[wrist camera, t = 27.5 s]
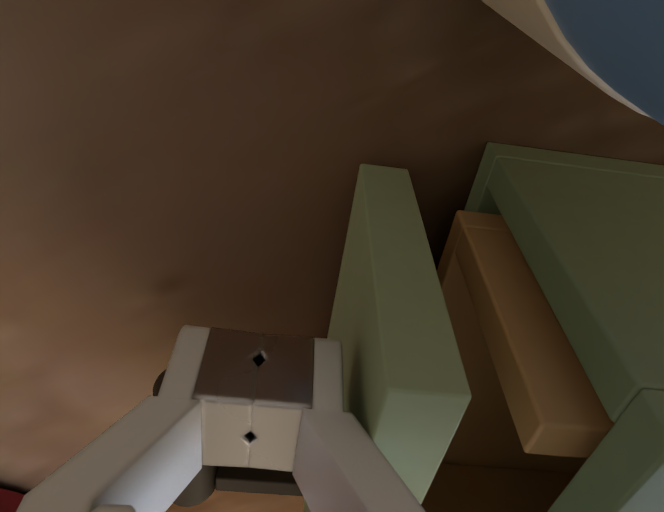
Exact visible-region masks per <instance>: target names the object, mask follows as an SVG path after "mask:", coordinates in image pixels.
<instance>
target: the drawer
mask: <svg viewBox="0 0 664 512" xmlns="http://www.w3.org/2000/svg"><path fill="white" fill-rule="evenodd" d="M327 339H338V340H341V342H342V353H343V383H344V412H350V413H353V414H354V415H355V417H356V418H357V419H358V421H359V422H360V423H361V425H362V426H363V428H364V429H365V430H366V432H367V433H368V434H369V436H370V437H371V439H372V440H373V441H374V442H375V444H376V445H377V446H378V448H379V449H380V450H381V452H382V453H383V454H384V456H385V457H386V459H387V460H388V461H389V463H390V464H391V465H392V467H393V468H394V469H395V471H396V472H397V473H398V475H399V476H400V477H401V479H402V480H403V481H404V483H405V484H406V485H407V487H408V488H409V489H410V491H411V492H412V494H413V495H414V496H415V498H416V499H417V500H418V502H419V503H420V504H421V506H422V507H423V508H424V510H425V511H426V512H547V511H548V510H549V508H550V507H551V506H552V505H553V503H554V502H555V501H556V499H557V498H558V497H559V495H560V494H561V493H562V492H563V490H564V489H565V488H566V486H567V485H568V484H569V482H570V481H571V480H572V479H573V477H574V476H575V475H576V473H577V472H578V471H579V469H580V468H581V467H582V465H583V464H584V463H585V462H586V460H587V459H588V458H589V456H590V455H591V454H592V452H593V451H594V450H595V449H596V447H597V446H598V445H599V443H600V442H601V441H602V439H603V438H604V437H605V436H606V434H607V433H608V432H609V430H610V429H611V428H612V426H613V425H614V424H615V422H613V421H611V420H610V418H609V416H608V414H607V412H606V411H605V409H604V407H603V405H602V403H601V401H600V399H599V397H598V395H597V394H596V392H595V390H594V388H593V386H592V384H591V382H590V380H589V379H588V377H587V375H586V373H585V371H584V369H583V367H582V365H581V363H580V362H579V360H578V358H577V356H576V354H575V352H574V350H573V348H572V346H571V345H570V343H569V341H568V339H567V337H566V335H565V333H564V331H563V329H562V328H561V326H560V324H559V322H558V320H557V318H556V316H555V314H554V312H553V311H552V309H551V307H550V305H549V303H548V301H547V299H546V297H545V295H544V294H543V292H542V290H541V288H540V286H539V284H538V282H537V280H536V278H535V277H534V275H533V273H532V271H531V269H530V267H529V265H528V263H527V261H526V260H525V258H524V256H523V254H522V252H521V250H520V248H519V246H518V244H517V243H516V241H515V239H514V237H513V235H512V233H511V231H510V229H509V227H508V226H507V224H506V222H505V220H504V218H503V216H502V215H495V214H487V213H479V212H471V211H462V210H458V211H457V212H456V215H455V218H454V221H453V224H452V227H451V230H450V233H449V236H448V239H447V242H446V245H445V248H444V251H443V254H442V257H441V260H440V263H439V266H438V269H437V271H436V267H435V264H434V260H433V257H432V253H431V250H430V246H429V243H428V239H427V235H426V232H425V228H424V225H423V221H422V218H421V214H420V211H419V207H418V204H417V200H416V196H415V193H414V189H413V186H412V182H411V179H410V175H409V172H408V170H407V169H401V168H393V167H385V166H377V165H369V164H361V165H360V168H359V173H358V178H357V184H356V189H355V194H354V199H353V205H352V210H351V215H350V220H349V226H348V231H347V236H346V242H345V247H344V252H343V257H342V263H341V268H340V273H339V278H338V284H337V289H336V294H335V299H334V305H333V310H332V315H331V321H330V326H329V331H328V336H327ZM166 370H167V369H166ZM166 370H164V371H163V372H162V373H161V374H160V375H159V376H158V378H157V380H156V381H155V383H154V387H153V396H158V393H159V391H160V388H161V385H162V382H163V379H164V376H165V373H166ZM292 473H293V472H290V471H280V470H270V469H260V468H250V467H230V466H208V465H202V469H201V470H200V471H199V472H198V474H197V475H196V476H195V477H194V478H193V479H192V481H191V482H190V483H189V484H188V485H187V487H186V488H185V489H184V490H183V491H182V492H181V494H180V495H179V496H178V497H177V498H176V500H175V501H174V502H173V503H174V504H176V505H178V506H183V507H190V506H195V505H198V504H200V503H202V502H203V501H205V500H206V499H207V498H208V497H209V496H210V495H211V494H212V493H213V491H214V489H216V490H220V491H235V492H250V493H264V494H279V495H293V496H303V495H302V493H301V491H300V489H299V487H298V485H297V483H296V481H295V479H294V477H293V475H292ZM304 512H311V511H310V509H309V507H308V505H307V503H306V501H305V499H304Z"/></svg>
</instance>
